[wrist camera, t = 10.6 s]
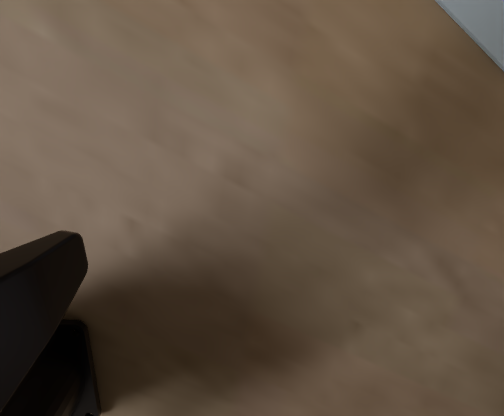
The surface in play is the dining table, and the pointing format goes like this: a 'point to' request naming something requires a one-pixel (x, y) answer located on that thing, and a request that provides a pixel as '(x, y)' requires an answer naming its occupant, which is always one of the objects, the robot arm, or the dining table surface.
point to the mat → (480, 23)
